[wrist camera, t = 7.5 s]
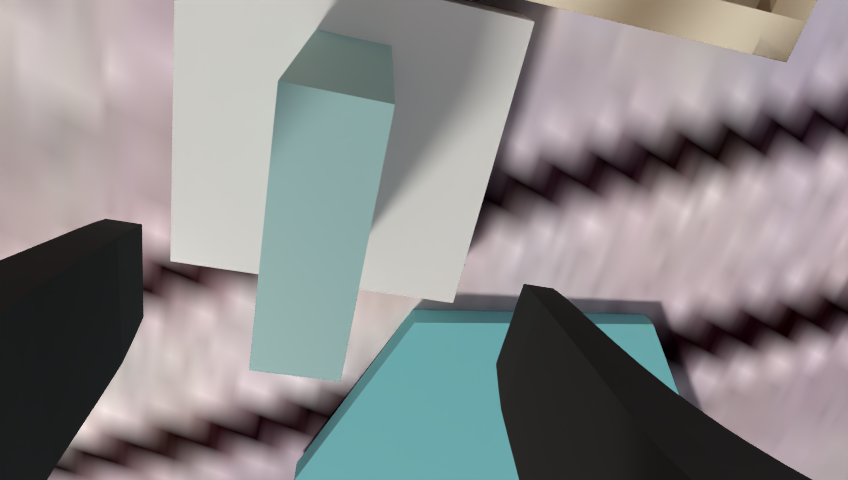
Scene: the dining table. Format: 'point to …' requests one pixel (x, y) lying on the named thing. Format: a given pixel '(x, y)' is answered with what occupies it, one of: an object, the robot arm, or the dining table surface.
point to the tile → (407, 144)
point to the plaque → (443, 401)
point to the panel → (320, 202)
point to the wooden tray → (709, 20)
